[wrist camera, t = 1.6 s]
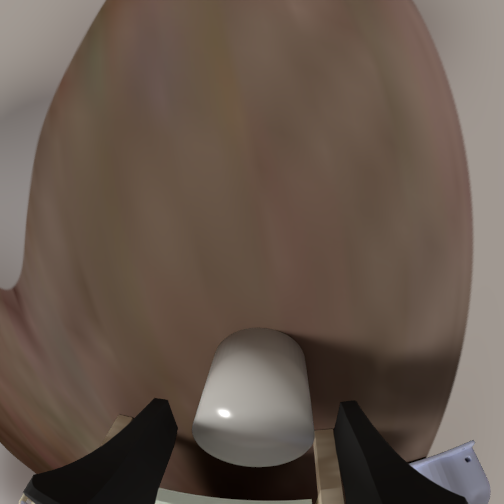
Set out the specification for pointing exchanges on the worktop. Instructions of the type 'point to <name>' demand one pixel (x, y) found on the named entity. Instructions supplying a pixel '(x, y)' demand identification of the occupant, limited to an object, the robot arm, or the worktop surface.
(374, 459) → the robot arm
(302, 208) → the worktop surface
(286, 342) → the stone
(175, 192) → the worktop surface
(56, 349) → the worktop surface
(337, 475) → the frame
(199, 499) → the trapdoor
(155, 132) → the worktop surface
